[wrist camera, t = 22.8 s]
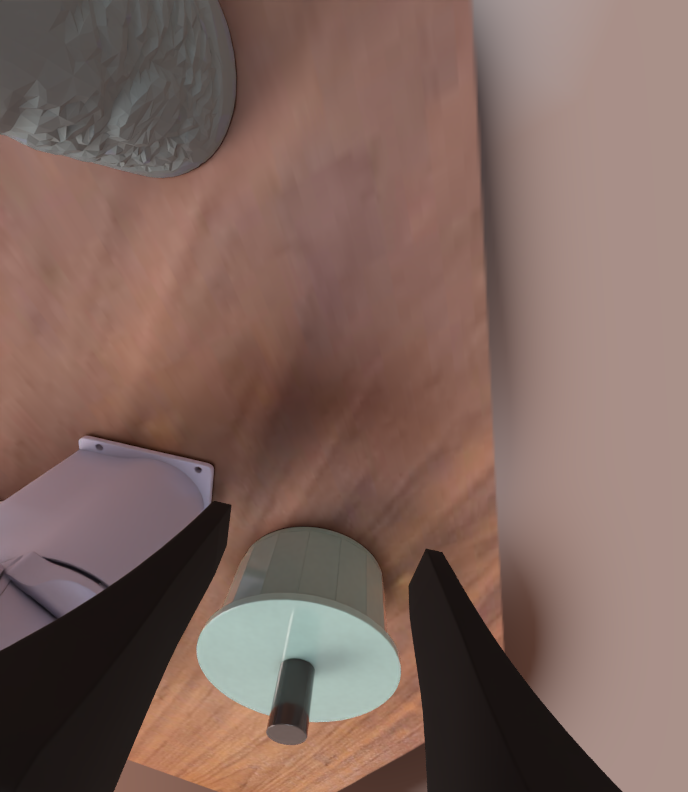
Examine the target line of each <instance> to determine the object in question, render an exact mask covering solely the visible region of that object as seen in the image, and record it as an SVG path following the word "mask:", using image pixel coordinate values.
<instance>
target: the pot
mask: <svg viewBox="0 0 688 792" xmlns="http://www.w3.org/2000/svg"><path fill="white" fill-rule="evenodd" d="M286 592H289V593H302V594H309V595H314V596H320V597H323V598H327V599H331V600H334V601H337V602H340V603H343V604H345V605H348V606H350V607H352V608H354V609H356V610H358V611H360V612H362V613H363V614H365V615H367V616H368V617H370V618H371V619H373V620H374V621H375V622H376V623H378V624H379V625H380V626H381V627H382V628H383V629H384V630H385V631H386V632H387V621H386V603H385V590H384V584H383V575H382V571H381V569H380V567H379V564H378V563H377V561H376V560H375V558H374V557H373V556H372V554H371V553H370V552H369V551H368V550H367V549H366V548H364V547H363V546H362V545H361V544H359V543H358V542H356V541H355V540H353V539H351V538H349V537H347V536H345V535H343V534H340V533H337V532H334V531H331V530H327V529H322V528H316V527H292V528H286V529H281V530H277V531H275V532H272V533H269V534H267V535H266V536H264V537H262V538H260V539H259V540H258V541H256V542H255V543H254V544H253V545H252V546H251V547H250V548H249V549H248V551H247V552H246V554H245V556H244V558H243V559H242V560H241V562H240V564H239V567H238V569H237V571H236V574H235V576H234V579H233V581H232V584H231V586H230V589H229V591H228V593H227V596H226V598H225V601H224V603H223V606H222V607H224V606H225V605H227V604H229V603H232V602H234V601H236V600H239V599H242V598H245V597H248V596H253V595H258V594H266V593H286Z"/></svg>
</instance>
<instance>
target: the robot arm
mask: <svg viewBox="0 0 688 792" xmlns="http://www.w3.org/2000/svg"><path fill="white" fill-rule="evenodd" d="M102 446H103V447H102ZM198 467H200V468H201V470H200V469H198ZM213 477H214V468H213V466H212V465H211V464H209V463H206V462H201V461H197V460H193V459H188V458H184V457H179V456H175V455H171V454H166V453H162V452H158V451H153V450H149V449H144V448H140V447H136V446H131V445H127V444H123V443H118V442H114V441H110V440H105V439H101V438H96V437H92V436H83V437H82V438H80V439H79V450H78V451H76V452H75V453H74V454H72V455H71V456H69V457H68V458H66V459H65V460H63V461H62V462H60V463H59V464H57V465H56V466H54V467H53V468H51V469H50V470H48V471H47V472H45V473H44V474H43V475H41V476H40V477H38V478H37V479H35V480H34V481H32V482H31V483H29V484H28V485H26V486H25V487H23V488H22V489H20V490H19V491H17V492H16V493H15V494H13V495H12V496H10V497H9V498H7V499H6V500H4V501H3V502H1V503H0V792H113V791H114V790H115V787H116V785H117V782H118V780H119V777H120V775H121V772H122V770H123V768H124V765H125V763H126V760H127V758H128V756H129V753H130V751H131V749H132V746H133V744H134V741H135V739H136V737H137V734H138V732H139V730H140V727H141V725H142V723H143V720H144V718H145V716H146V713H147V711H148V709H149V706H150V704H151V702H152V699H153V697H154V695H155V692H156V690H157V688H158V686H159V683H160V681H161V679H162V677H163V674H164V672H165V670H166V668H167V665H168V663H169V661H170V659H171V657H172V655H173V653H174V650H175V648H176V646H177V644H178V642H179V641H180V639H181V637H182V635H183V633H184V631H185V629H186V628H187V626H188V624H189V622H190V620H191V618H192V616H193V614H194V613H195V611H196V609H197V607H198V605H199V603H200V601H201V600H202V598H203V596H204V594H205V592H206V590H207V588H208V586H209V584H210V583H211V581H212V579H213V577H214V575H215V573H216V570H217V568H218V565H219V563H220V561H221V558H222V556H223V553H224V551H225V548H226V546H227V538H228V529H229V521H230V513H231V505H230V504H225V503H221V502H216V501H214V502H212V503H211V500H212V488H213ZM409 610H410V622H411V630H412V637H413V644H414V651H415V657H416V664H417V671H418V678H419V685H420V691H421V700H422V708H423V721H424V736H425V750H426V771H427V789H428V792H622V791H621V790H620V789H619V788H618V787H617V786H616V785H615V784H614V783H613V782H612V781H611V780H610V778H609V777H607V775H606V774H605V773H604V772H603V771H602V770H601V769H600V768H599V767H598V766H597V764H596V763H595V762H594V761H593V760H592V759H591V758H590V757H589V756H588V755H587V754H586V753H585V751H584V750H583V749H582V748H581V747H580V746H579V745H578V744H577V743H576V741H575V740H574V739H573V738H572V737H571V736H570V735H569V734H568V732H567V731H566V730H565V729H564V728H563V727H562V725H561V724H560V723H559V722H558V721H557V719H556V718H555V717H554V716H553V715H552V713H550V711H549V710H548V709H547V708H546V706H545V705H544V704H543V703H542V702H541V701H540V699H539V698H538V697H537V695H536V694H535V693H534V692H533V690H532V689H531V688H530V686H529V685H528V684H527V682H526V681H525V680H524V679H523V677H522V676H521V675H520V673H519V672H518V671H517V669H516V668H515V667H514V665H513V664H512V663H511V661H510V660H509V658H508V657H507V656H506V654H505V653H504V651H503V650H502V649H501V647H500V646H499V644H498V643H497V641H496V640H495V638H494V637H493V635H492V634H491V632H490V631H489V629H488V628H487V626H486V625H485V623H484V622H483V620H482V618H481V617H480V615H479V614H478V612H477V610H476V609H475V607H474V605H473V604H472V602H471V601H470V599H469V597H468V596H467V594H466V592H465V591H464V589H463V587H462V585H461V584H460V582H459V580H458V579H457V577H456V575H455V573H454V572H453V570H452V568H451V566H450V565H449V563H448V561H447V560H446V558H445V556H444V554H443V553H442V552H439V551H434V550H430V549H426V550H425V552H424V554H423V556H422V559H421V561H420V563H419V565H418V567H417V569H416V571H415V573H414V576H413V578H412V580H411V582H410V584H409Z"/></svg>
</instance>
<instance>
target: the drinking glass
mask: <svg viewBox="0 0 688 792" xmlns="http://www.w3.org/2000/svg"><path fill="white" fill-rule="evenodd" d="M235 98H236V68H235V58H234V51H233V47H232V42H231V37H230V33H229V29H228V25H227V22H226V19H225V17H224V14H223V12H222V9H221V7H220V4H219V2H218V0H0V134H1V135H6V136H9V137H10V138H12V139H15V140H16V141H18V142H20V143H22V144H24V145H27V146H29V147H31V148H33V149H35V150H39V151H43V152H47V153H51V154H55V155H65V156H68V157H71V158H74V159H77V160H80V161H84V162H93V163H96V164H100V165H103V166H107V167H111V168H115V169H118V170H122V171H126V172H131V173H135V174H139V175H143V176H148V177H156V178H165V177H174V176H178V175H181V174H184V173H187V172H189V171H191V170H192V169H194V168H197V167H199V165H200V164H201V163H205V162H206V161H207V159H209V158H210V157H211V156H212V155H213V154H214V153H215V151H216V150H217V149H218V147H219V146H220V144H221V142H222V140H223V139H224V137H225V135H226V132H227V129H228V127H229V124H230V121H231V117H232V114H233V110H234V104H235Z"/></svg>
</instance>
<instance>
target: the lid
mask: <svg viewBox="0 0 688 792" xmlns="http://www.w3.org/2000/svg"><path fill="white" fill-rule="evenodd" d="M197 658H198V662H199V665H200V667H201V669H202V671H203V673H204V674H205V676H206V677H207V679H208V680H209V681H210V682H211V683H212V684H213V685H214V686H215V687H216V688H217V689H218V690H219V691H220V692H222V693H223V694H225V695H226V696H227V697H229V698H230V699H232V700H234V701H235V702H237V703H239V704H241V705H243V706H245V707H247V708H249V709H252V710H254V711H257V712H260V713H263V714H266V715H269V720H268V725H267V730H266V733H267V735H268V737H269V738H270V739H272V740H273V741H275V742H277V743H280V744H285V745H297V744H301V743H303V742H304V741H305V740H306V739H307V735H308V727H309V722H330V721H339V720H344V719H349V718H353V717H357V716H360V715H363V714H365V713H368V712H370V711H372V710H374V709H376V708H377V707H379V706H380V705H382V704H383V703H385V702H386V701H387V700H388V699H389V698H390V697H391V696H392V695H393V693H394V692H395V690H396V689H397V686H398V684H399V681H400V676H401V663H400V656H399V653H398V649H397V647H396V645H395V643H394V641H393V640H392V639H391V637H390V636H389V634H388V633H387V632H386V631H385V630H384V629H383V628H382V627H381V626H380V625H379V624H378V623H376V622H375V621H374V620H373V619H371V618H370V617H368V616H367V615H365V614H363V613H362V612H360V611H358V610H356V609H354V608H352V607H350V606H348V605H345V604H343V603H340V602H337V601H334V600H331V599H327V598H323V597H320V596H314V595H309V594H302V593H289V592H286V593H266V594H258V595H253V596H248V597H245V598H242V599H239V600H236V601H234V602H232V603H229V604H227V605H225V606H224V607H222V608H221V609H219V610H218V611H216V612H215V613H214V614H213V615H212V616H211V617H210V618H209V619H208V621H207V622H206V623H205V625H204V627H203V629H202V631H201V633H200V636H199V638H198V642H197Z"/></svg>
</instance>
